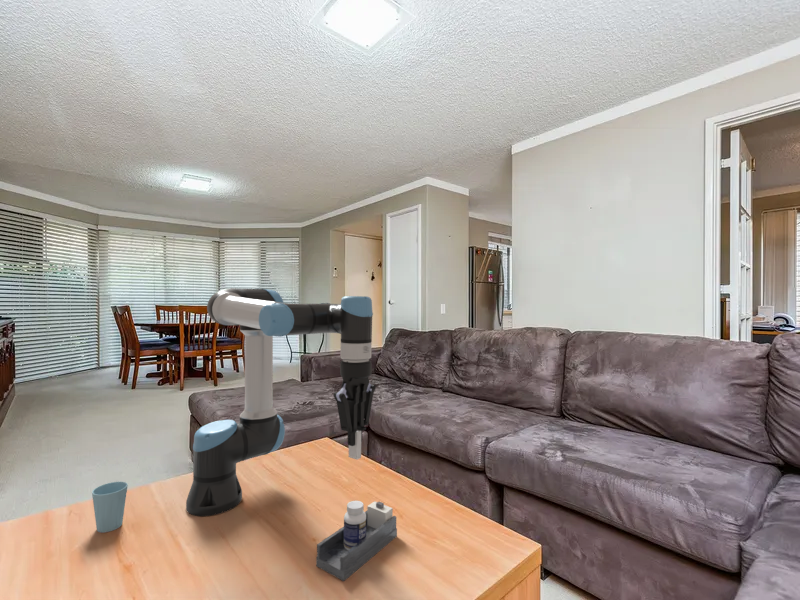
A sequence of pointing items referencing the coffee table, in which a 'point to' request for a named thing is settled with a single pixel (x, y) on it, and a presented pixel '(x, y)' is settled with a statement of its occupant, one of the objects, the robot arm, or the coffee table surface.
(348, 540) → the pill bottle
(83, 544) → the coffee table surface
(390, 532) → the rail
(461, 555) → the coffee table surface
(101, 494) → the cup
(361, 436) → the robot arm
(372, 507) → the mounted module
